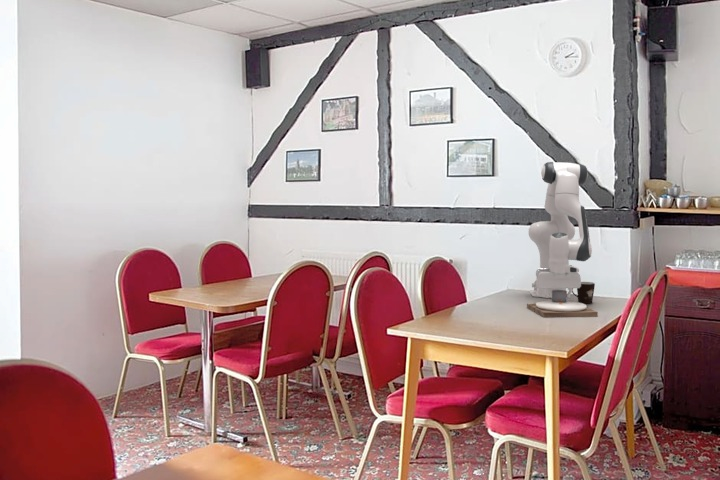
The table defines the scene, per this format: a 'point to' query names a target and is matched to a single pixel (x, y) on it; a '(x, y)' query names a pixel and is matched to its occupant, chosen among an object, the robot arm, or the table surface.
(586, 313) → the base
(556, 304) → the dial
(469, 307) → the table surface
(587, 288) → the coffee mug
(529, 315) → the table surface
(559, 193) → the robot arm
